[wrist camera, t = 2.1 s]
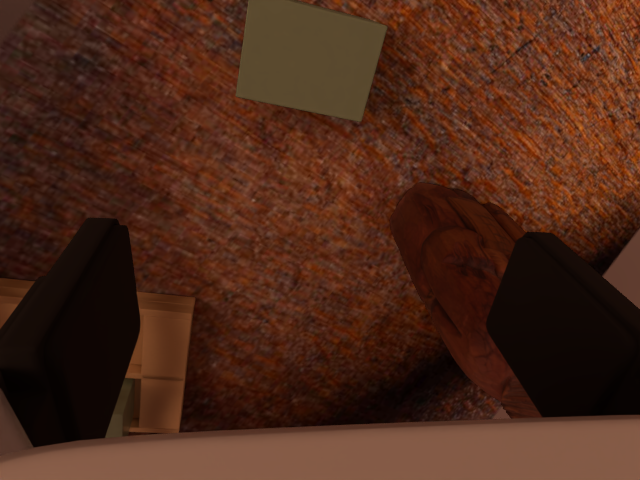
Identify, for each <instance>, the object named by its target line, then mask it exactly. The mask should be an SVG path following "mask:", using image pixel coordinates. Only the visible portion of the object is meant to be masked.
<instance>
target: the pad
mask: <svg viewBox="0 0 640 480" xmlns="http://www.w3.org/2000/svg"><path fill="white" fill-rule="evenodd" d="M386 31H387V26H386V25H383V24H380V23H378V22H375V21H372V20H370V19H366V18H362V17H358V16H354V15H350V14H346V13H343V12H339V11H335V10H331V9H327V8H323V7H319V6H316V5H312V4H308V3H304V2H300V1H296V0H249V1H248V8H247V16H246V23H245V31H244V38H243V46H242V53H241V60H240V68H239V75H238V83H237V90H236V97H239V98H244V99H249V100H254V101H259V102H264V103H269V104H274V105H278V106H283V107H288V108H293V109H298V110H303V111H308V112H313V113H318V114H323V115H328V116H333V117H338V118H342V119H347V120H352V121H357V122H361V121H362V117H363V114H364V110H365V107H366V103H367V99H368V96H369V92H370V89H371V85H372V81H373V78H374V74H375V70H376V67H377V63H378V60H379V56H380V52H381V49H382V45H383V42H384V38H385V34H386Z"/></svg>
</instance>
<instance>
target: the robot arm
mask: <svg viewBox="0 0 640 480" xmlns="http://www.w3.org/2000/svg"><path fill="white" fill-rule="evenodd" d="M140 323H141V322H140V313H139V305H138V298H137V290H136V283H135V275H134V268H133V260H132V253H131V245H130V238H129V231H128V228H127V226H126V225H119V222H118V220H117V219H111V218H87V219H86V220H85V222H84V223H83V225H82V226H81V227H80V229H79V230H78V232H77V233H76V235H75V236H74V237H73V239H72V240H71V242H70V243H69V244H68V246H67V247H66V249H65V250H64V251H63V253H62V254H61V256H60V257H59V259H58V260H57V261H56V263H55V264H54V266H53V267H52V268H51V270H50V271H49V273H48V274H47V275H46V276H42V277H39V278H38V279H37V280H36V281H35V282H34V284H33V285H32V286H31V288H30V289H29V290H28V292H27V293H26V295H25V296H24V297H23V299H22V300H21V301H20V303H19V304H18V306H17V307H16V308H15V310H14V311H13V312H12V314H11V315H10V316H9V318H8V319H7V321H6V322H5V323H4V325H3V326H2V327H1V329H0V480H640V309H639V308H638V307H636V306H635V305H634V304H633V303H632V302H631V301H629V300H628V299H627V298H626V297H625V296H624V295H622V293H620V292H619V291H618V290H617V289H616V288H615V287H614V286H612V285H611V284H610V283H609V282H608V281H607V280H606V279H604V278H603V277H602V276H601V275H600V274H599V273H597V272H596V271H595V270H594V269H593V268H592V267H591V266H589V265H588V264H587V263H586V262H585V261H584V260H583V259H581V258H580V257H579V256H578V255H577V254H576V253H575V252H573V251H572V250H571V249H570V248H569V247H568V246H567V245H565V244H564V243H563V242H562V241H561V240H560V239H559V238H557V237H556V236H555V235H554V234H552V233H544V232H527V233H525V234H524V235H523V236H522V237H521V238H519V239H518V240H517V241H516V243H515V245H514V248H513V251H512V253H511V256H510V259H509V261H508V264H507V267H506V269H505V272H504V275H503V277H502V280H501V283H500V285H499V288H498V290H497V293H496V296H495V298H494V301H493V304H492V306H491V309H490V312H489V314H488V317H487V320H486V328H487V332H488V334H489V335H490V337H491V338H492V340H493V342H494V343H495V345H496V346H497V348H498V349H499V351H500V352H501V354H502V356H503V357H504V359H505V360H506V362H507V363H508V365H509V366H510V368H511V370H512V371H513V373H514V374H515V376H516V377H517V379H518V380H519V382H520V384H521V385H522V387H523V388H524V390H525V391H526V393H527V394H528V396H529V398H530V399H531V401H532V402H533V404H534V405H535V407H536V408H537V410H538V412H539V413H540V415H541V416H542V418H513V419H486V420H459V421H433V422H407V423H382V424H357V425H334V426H312V427H289V428H266V429H244V430H221V431H204V432H186V433H169V434H153V435H137V436H123V437H112V438H105V436H106V433H107V430H108V427H109V424H110V421H111V418H112V415H113V412H114V409H115V406H116V403H117V400H118V397H119V394H120V391H121V388H122V385H123V382H124V379H125V376H126V373H127V370H128V367H129V364H130V361H131V358H132V355H133V352H134V349H135V346H136V343H137V340H138V337H139V333H140Z"/></svg>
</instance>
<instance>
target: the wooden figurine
mask: <svg viewBox="0 0 640 480" xmlns="http://www.w3.org/2000/svg"><path fill="white" fill-rule="evenodd" d="M390 228H391V232H392V234H393V237H394V239H395V242H396V244H397V246H398V248H399V250H400V253H401V256H402V258H403V261H404V263H405V266H406V268H407V270H408V272H409V274H410V277H411V279H412V282H413V284H414V286H415V288H416V290H417V292H418V294H419V296H420V298H421V300H422V301H423V302H425V307H426V309H427V310H428V312H429V314H430V315H431V318H432V320H433V322H434V325H435V327H436V329H437V331H438V332H439V334H440V336H441V338H442V339H443V341H444V343H445V344H446V346H447V348H448V349H449V351H450V353H451V354H452V356H453V358H454V359H455V361H456V362H457V364H458V365H459V366H460V368H461V369H462V370H463V371H464V373H465V374H466V375H467V376H468V377H469V378H470V379H471V380H472V381H473V382H474V383H475V384H476V385H478V386H479V387H480V388H481V389H482V390H484V391H485V392H486V393H487V394H489V395H490V396H492V397H493V398H495V399H497V400H499V401H500V402H501V405H502V406H503V409H504V410H506V413H507V414H508V415H509V416H510V418H511V419H513V418H542V416H541V415H540V413H539V412H538V410H537V408H536V407H535V405H534V404H533V402H532V401H531V399H530V398H529V396H528V394H527V393H526V391H525V390H524V388H523V387H522V385H521V384H520V382H519V380H518V379H517V377H516V376H515V374H514V373H513V371H512V370H511V368H510V366H509V365H508V363H507V362H506V360H505V359H504V357H503V356H502V354H501V352H500V351H499V349H498V348H497V346H496V345H495V343H494V342H493V340H492V338H491V337H490V335H489V334H488V332H487V328H486V320H487V317H488V314H489V312H490V309H491V306H492V304H493V301H494V298H495V296H496V293H497V290H498V288H499V285H500V283H501V280H502V277H503V275H504V272H505V269H506V267H507V264H508V261H509V259H510V256H511V253H512V251H513V248H514V245H515V243H516V241H517V240H518V239H519V238H521V237H522V236H523V235H524V234H525V233H526V232H525V231H524V230H523V229H522V228H521V227H520V226H518V224H517V223H516V222H514V221H513V219H512V218H511V217H509V215H508V214H507V213H506V212H504V211H503V210H502V209H501V208H500V207H498V206H497V205H495V204H493V203H487V204H485V205H481V204H479V203H478V202H477V201H476V199H475V198H473V197H472V196H471V195H469V194H468V193H466V192H464V191H461V190H457V189H452V190H451V189H448V188H445V187H442V186H439V185H434V184H429V183H422V182H419V183H417V184H416V185H415V186H414V187H412V188H411V189H409V190H408V191H407V192H406V194H405V195H404V197H403V198H402V199H401V200H400V202H399V203H398V205H397V207H396V209H395V211H394V213H393V214H392V216H391V218H390Z"/></svg>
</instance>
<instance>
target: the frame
mask: <svg viewBox="0 0 640 480" xmlns="http://www.w3.org/2000/svg"><path fill="white" fill-rule="evenodd" d="M34 282H35V281H27V280H17V279H7V278H0V329H1V327H2V326H3V325H4V323H5V322H6V321H7V319H8V318H9V316H10V315H11V314H12V312H13V311H14V310H15V308H16V307H17V306H18V304H19V303H20V301H21V300H22V299H23V297H24V296H25V295H26V293H27V292H28V290H29V289H30V288H31V286H32V285H33V284H34ZM137 298H138V305H139V313H140V322H141V323H140V333H139V337H138V340H137V343H136V346H135V349H134V352H133V355H132V358H131V361H130V364H129V367H128V370H127V373H126V376H125V379H124V382H123V385H122V388H121V391H120V394H119V397H118V400H117V403H116V406H115V409H114V412H113V415H112V418H111V421H110V424H109V427H108V430H107V433H106V436H105V438H112V437H123V436H128V433H129V432H150V433H179V429H180V423H181V417H182V409H183V401H184V392H185V384H186V375H187V366H188V358H189V349H190V341H191V332H192V324H193V315H194V306H195V297H186V296H176V295H166V294H156V293H146V292H137Z"/></svg>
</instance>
